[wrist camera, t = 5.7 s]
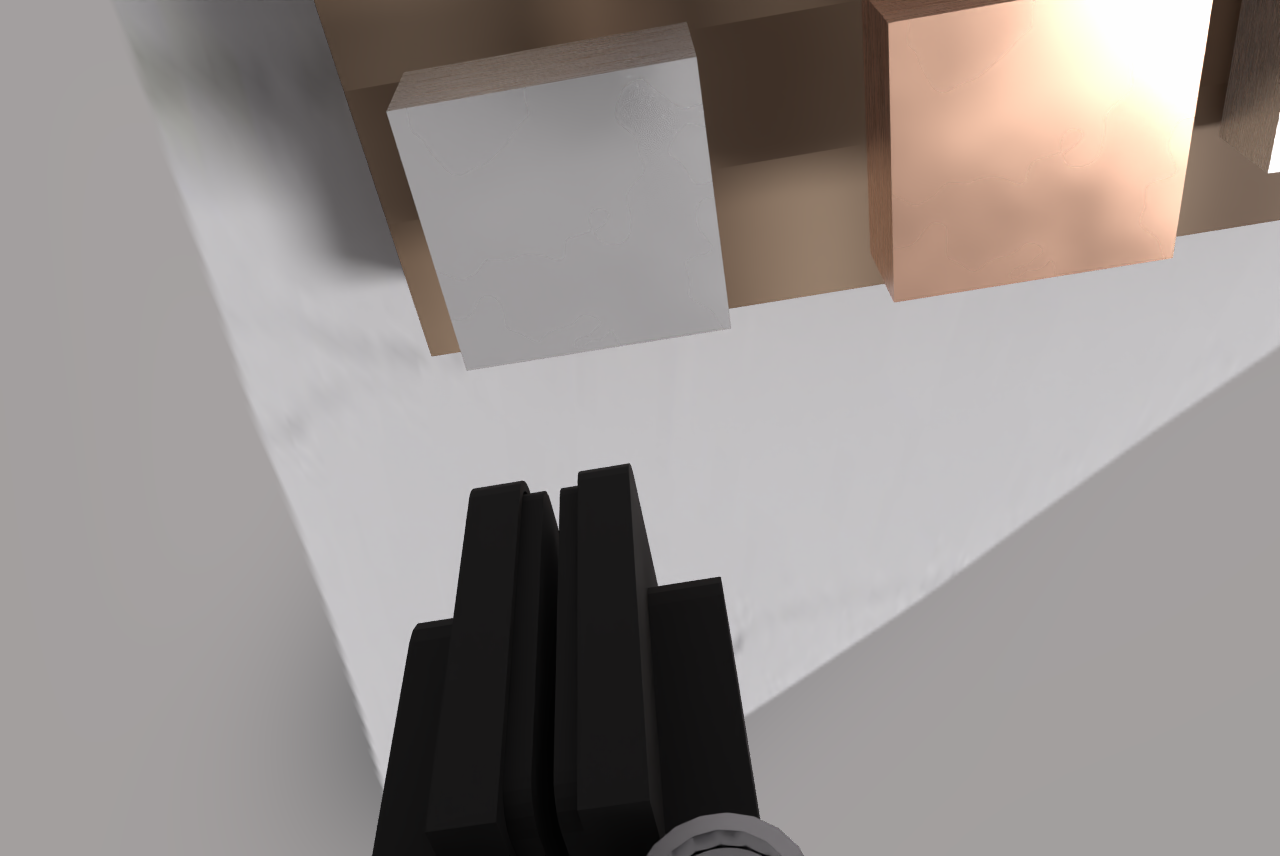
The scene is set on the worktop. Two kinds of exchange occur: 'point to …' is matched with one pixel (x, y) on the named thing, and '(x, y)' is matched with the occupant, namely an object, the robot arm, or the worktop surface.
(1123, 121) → the middle button
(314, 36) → the worktop surface
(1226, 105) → the button
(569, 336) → the button
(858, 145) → the button panel
